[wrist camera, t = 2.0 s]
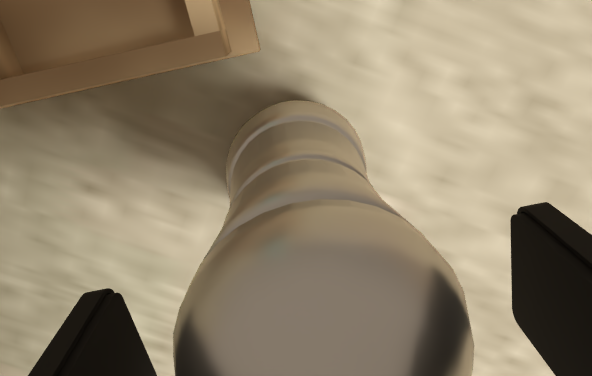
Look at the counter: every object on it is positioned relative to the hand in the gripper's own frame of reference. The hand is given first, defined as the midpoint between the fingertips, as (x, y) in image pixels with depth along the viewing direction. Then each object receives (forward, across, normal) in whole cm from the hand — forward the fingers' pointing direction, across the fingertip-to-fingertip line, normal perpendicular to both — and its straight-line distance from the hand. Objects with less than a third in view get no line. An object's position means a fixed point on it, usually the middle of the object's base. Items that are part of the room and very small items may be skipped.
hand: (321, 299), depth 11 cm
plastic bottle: (+14, 0, +1) cm, 14 cm away
